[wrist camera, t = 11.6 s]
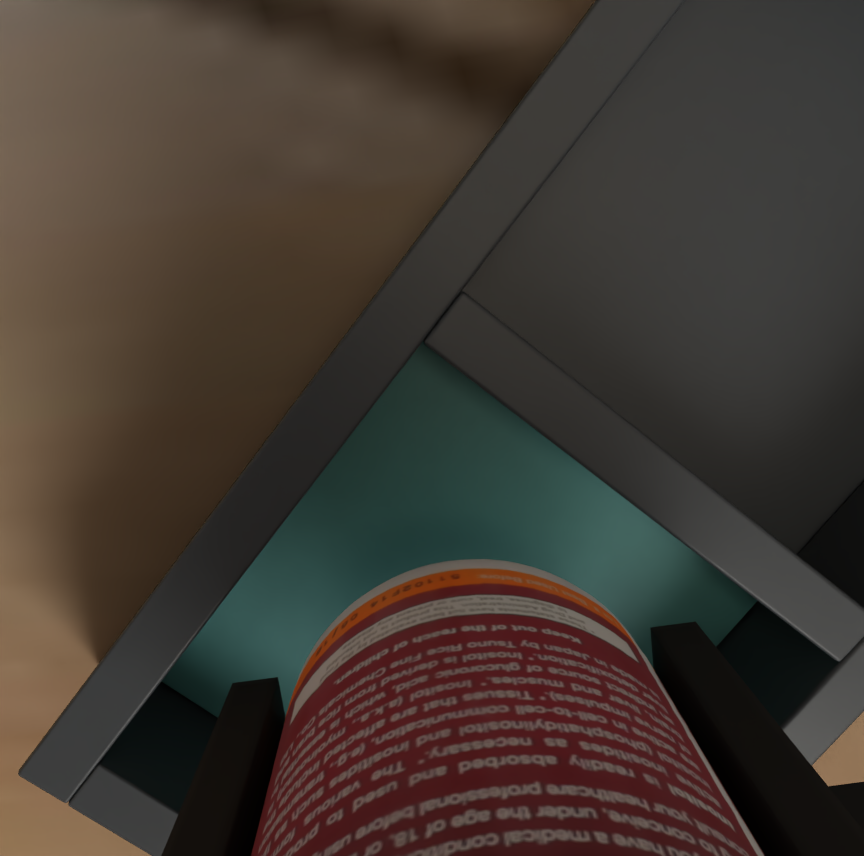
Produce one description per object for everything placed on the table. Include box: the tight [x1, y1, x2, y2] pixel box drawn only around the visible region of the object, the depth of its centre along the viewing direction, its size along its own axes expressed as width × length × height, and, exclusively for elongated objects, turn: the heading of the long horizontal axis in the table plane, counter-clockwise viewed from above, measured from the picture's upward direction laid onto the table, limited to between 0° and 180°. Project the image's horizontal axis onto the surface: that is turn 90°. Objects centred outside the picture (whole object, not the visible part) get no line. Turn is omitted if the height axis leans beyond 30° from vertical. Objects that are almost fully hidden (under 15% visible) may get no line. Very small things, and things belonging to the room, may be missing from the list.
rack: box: [18, 0, 864, 856], centre depth 14 cm, size 11×21×4 cm, turn 142°
